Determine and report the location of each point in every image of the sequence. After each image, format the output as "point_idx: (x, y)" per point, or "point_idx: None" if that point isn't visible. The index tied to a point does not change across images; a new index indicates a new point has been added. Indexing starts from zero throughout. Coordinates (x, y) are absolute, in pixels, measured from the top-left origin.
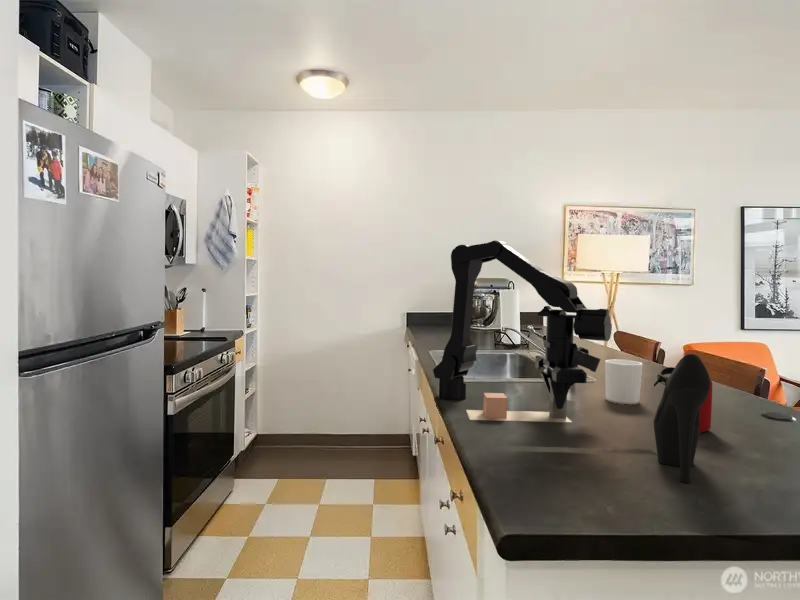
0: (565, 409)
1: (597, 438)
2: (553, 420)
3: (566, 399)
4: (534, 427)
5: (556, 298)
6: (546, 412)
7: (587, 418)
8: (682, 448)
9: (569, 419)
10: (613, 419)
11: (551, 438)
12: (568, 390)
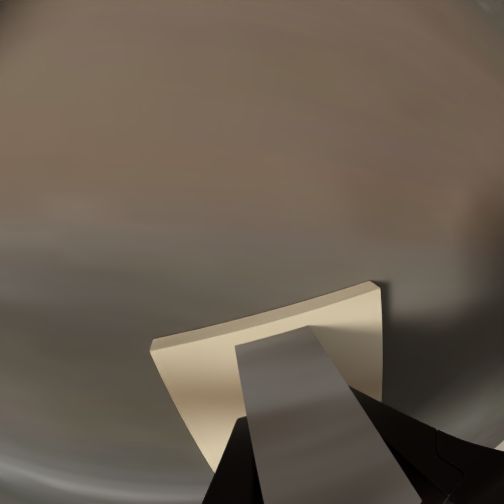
0: (330, 363)
1: (498, 184)
2: (363, 379)
3: (363, 410)
4: None
5: None
6: (197, 421)
7: (152, 170)
8: None
9: (327, 306)
10: (132, 15)
11: (495, 341)
12: (482, 446)
